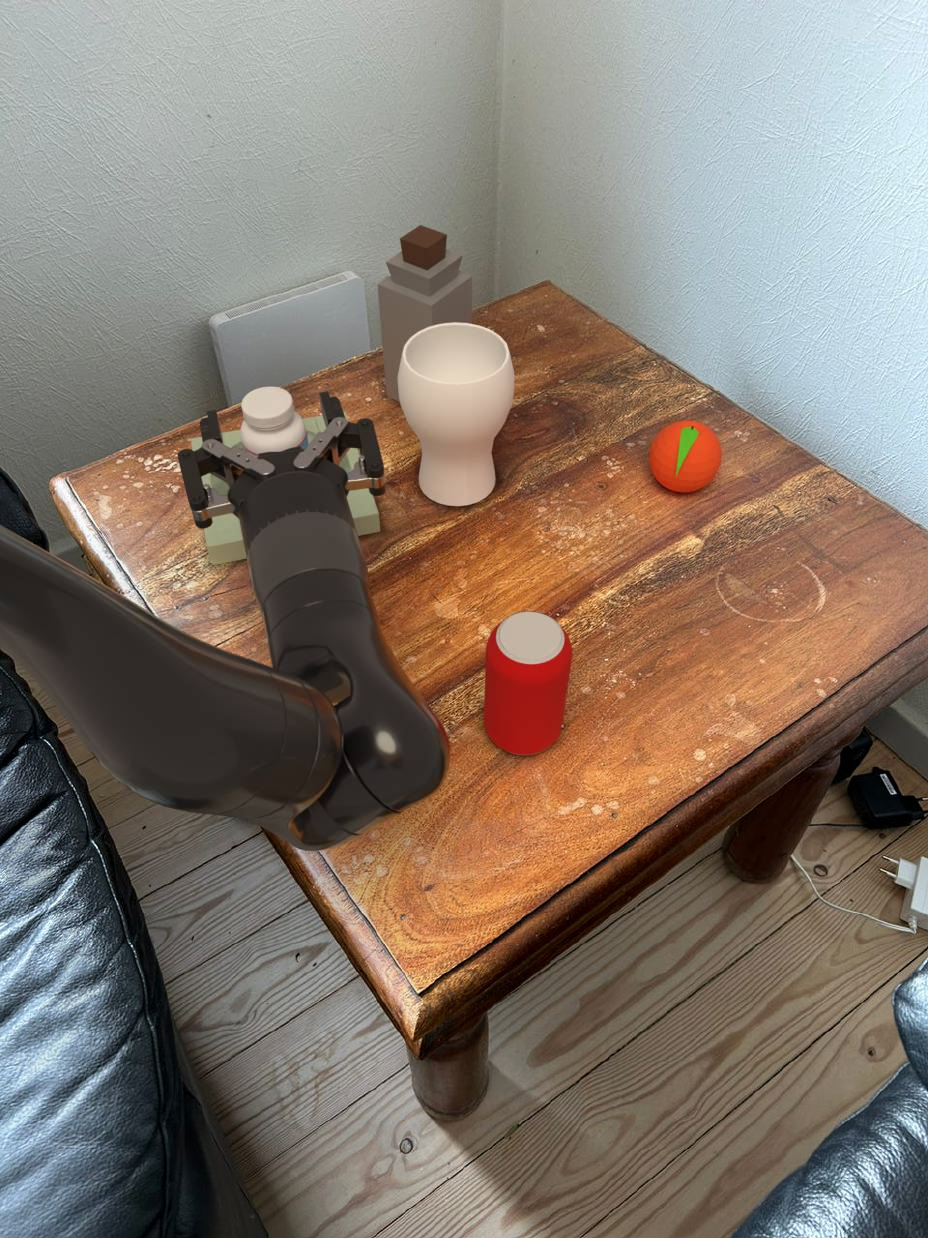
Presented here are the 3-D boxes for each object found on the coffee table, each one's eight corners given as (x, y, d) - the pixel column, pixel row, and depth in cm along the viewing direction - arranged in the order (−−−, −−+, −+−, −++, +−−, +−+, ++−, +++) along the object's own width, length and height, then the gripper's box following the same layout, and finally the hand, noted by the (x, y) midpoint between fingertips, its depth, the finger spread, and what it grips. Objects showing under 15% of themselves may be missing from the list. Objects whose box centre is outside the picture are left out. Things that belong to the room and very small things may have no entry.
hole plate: (212, 565, 85) (206, 546, 83) (195, 457, 95) (190, 438, 93) (380, 531, 88) (378, 512, 86) (347, 429, 98) (345, 410, 96)
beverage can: (570, 754, 72) (585, 661, 63) (493, 768, 71) (497, 677, 62) (549, 691, 76) (561, 596, 67) (476, 704, 75) (477, 609, 66)
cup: (506, 445, 96) (512, 317, 85) (513, 516, 89) (520, 387, 78) (405, 447, 96) (396, 319, 84) (403, 518, 89) (394, 389, 78)
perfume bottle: (423, 366, 105) (417, 212, 91) (471, 387, 103) (472, 232, 89) (386, 396, 102) (374, 240, 88) (435, 418, 99) (430, 261, 85)
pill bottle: (291, 465, 94) (273, 372, 86) (329, 494, 91) (314, 401, 83) (242, 493, 92) (219, 400, 83) (280, 524, 89) (259, 431, 80)
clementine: (703, 521, 89) (718, 465, 83) (633, 503, 90) (644, 446, 85) (720, 470, 94) (736, 413, 88) (653, 453, 95) (665, 397, 90)
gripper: (407, 495, 59) (355, 353, 69) (183, 538, 57) (163, 384, 67) (411, 573, 65) (363, 432, 75) (208, 615, 63) (186, 463, 72)
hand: (269, 409), depth 71 cm, fingers open, 8 cm apart
